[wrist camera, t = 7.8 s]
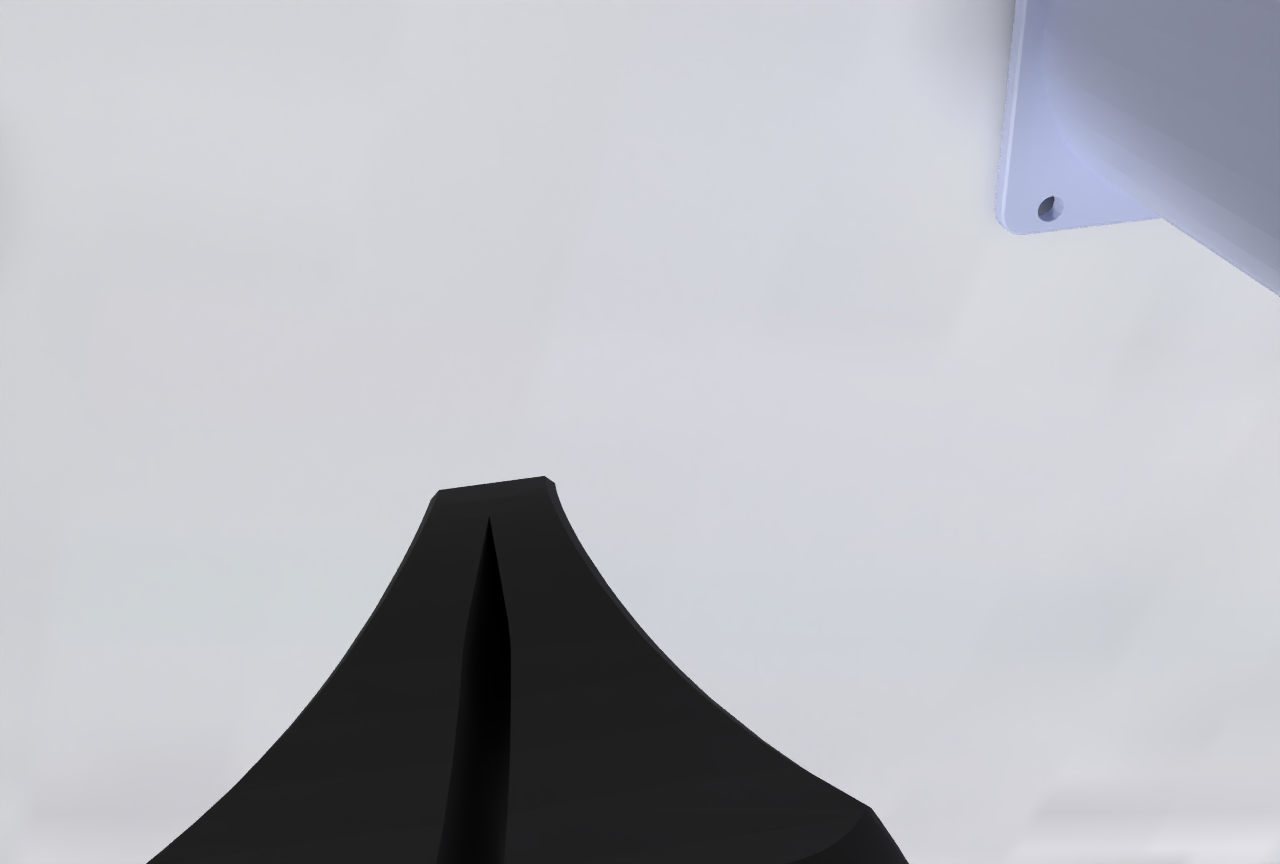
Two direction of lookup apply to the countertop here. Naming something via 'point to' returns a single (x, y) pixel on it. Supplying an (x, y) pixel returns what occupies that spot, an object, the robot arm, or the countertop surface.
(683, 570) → the countertop surface
